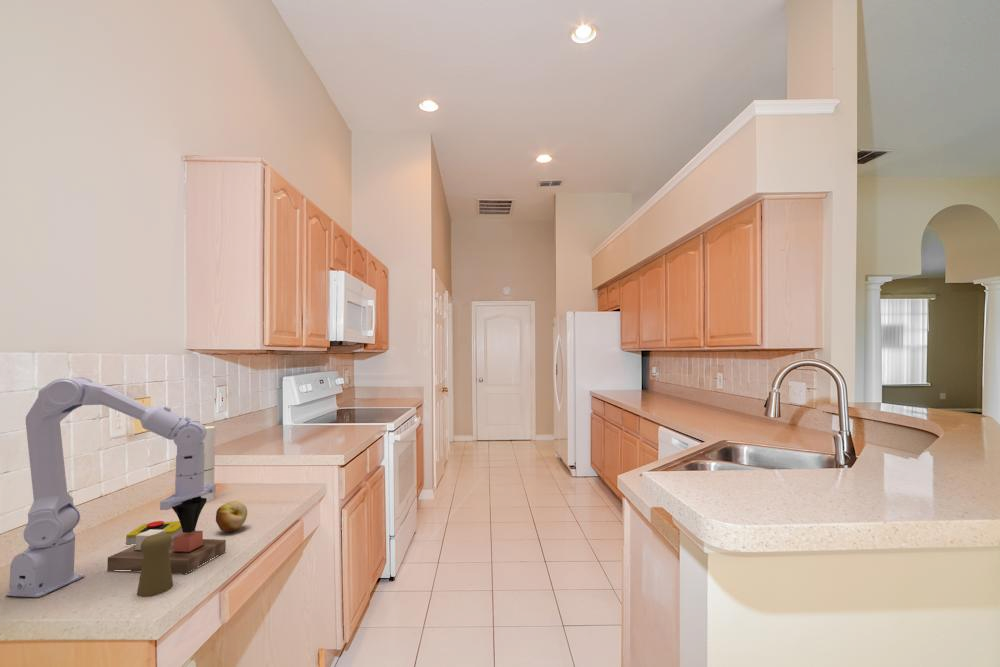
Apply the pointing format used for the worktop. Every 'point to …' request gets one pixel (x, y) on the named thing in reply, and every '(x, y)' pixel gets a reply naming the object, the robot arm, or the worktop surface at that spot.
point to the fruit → (231, 516)
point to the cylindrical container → (209, 460)
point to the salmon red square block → (188, 541)
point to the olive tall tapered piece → (155, 566)
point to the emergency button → (169, 528)
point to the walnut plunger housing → (178, 559)
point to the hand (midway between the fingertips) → (188, 531)
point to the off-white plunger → (144, 535)
